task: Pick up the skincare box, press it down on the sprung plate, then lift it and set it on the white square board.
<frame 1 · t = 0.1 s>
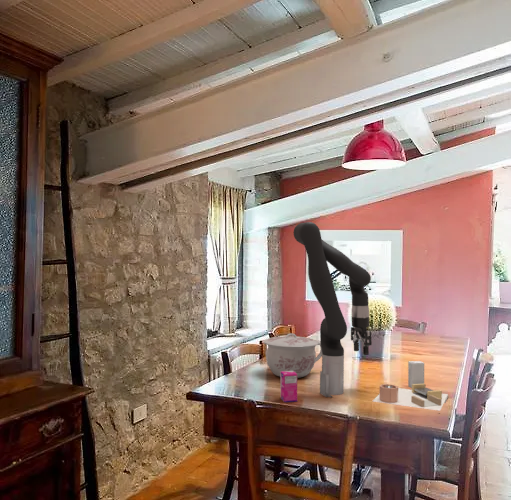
hand: (361, 352, 229), 17 cm above the table, tool pointing down, fingers open, 8 cm apart
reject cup: (388, 400, 214), resting on white square board
white square board: (411, 400, 218), on the table
chamber pot: (291, 375, 259), on the table
supplement box: (288, 400, 216), on the table
sprung plate: (426, 391, 221), point 3 cm above the table, slide at 0.1 cm
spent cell: (388, 399, 214), point 2 cm above the table, touching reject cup
skincare box: (416, 389, 237), on the table
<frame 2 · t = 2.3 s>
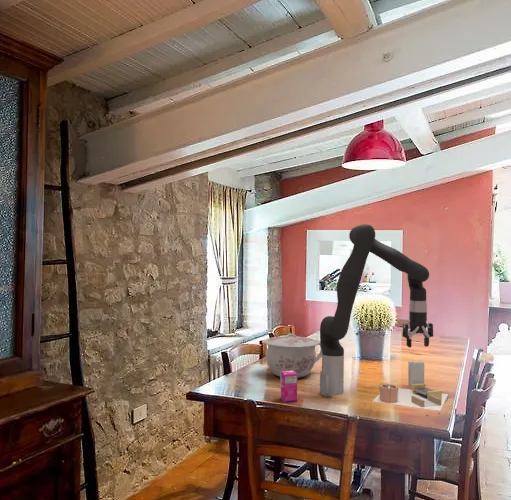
hand: (417, 346, 236), 19 cm above the table, tool pointing down, fingers open, 8 cm apart
nothing on the table moved.
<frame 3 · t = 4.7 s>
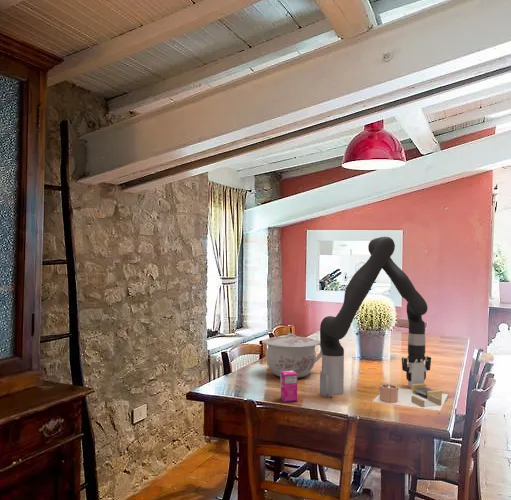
hand: (416, 380, 237), 4 cm above the table, tool pointing down, fingers closed on skincare box, 6 cm apart
skincare box: (416, 389, 237), on the table, touching gripper
everything else where it was.
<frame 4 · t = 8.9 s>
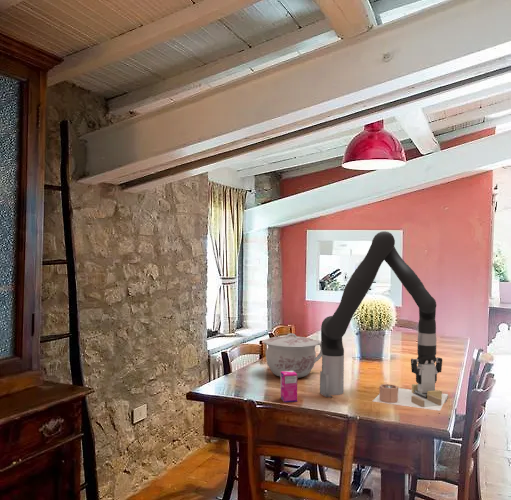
hand: (426, 383, 221), 7 cm above the table, tool pointing down, fingers closed on skincare box, 6 cm apart
sprung plate: (426, 393, 221), point 2 cm above the table, slide at 0.8 cm, touching skincare box
skincare box: (426, 392, 221), point 3 cm above the table, touching gripper, sprung plate
everything else where it was.
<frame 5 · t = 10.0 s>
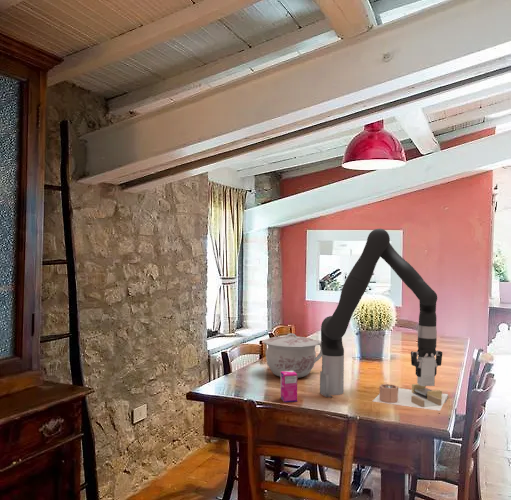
hand: (426, 376, 221), 9 cm above the table, tool pointing down, fingers closed on skincare box, 6 cm apart
sprung plate: (426, 392, 221), point 3 cm above the table, slide at 0.4 cm
skincare box: (425, 385, 221), point 5 cm above the table, touching gripper
everything else where it was.
when the fingers open (7 cm above the table, at t = 13.9 s): skincare box stays where it is, resting on white square board.
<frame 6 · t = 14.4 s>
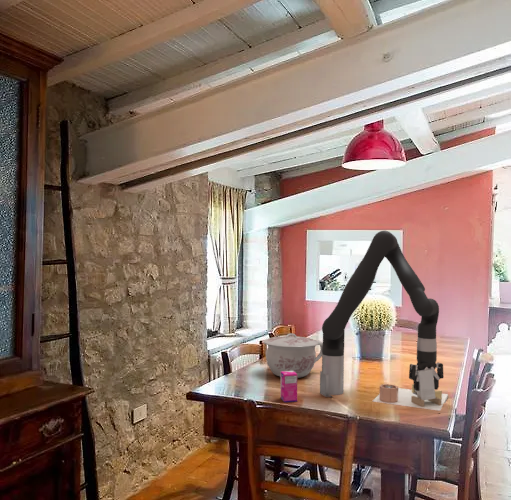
hand: (426, 389, 209), 7 cm above the table, tool pointing down, fingers open, 8 cm apart
skincare box: (426, 399, 209), point 3 cm above the table, touching white square board, gripper
everything else where it was.
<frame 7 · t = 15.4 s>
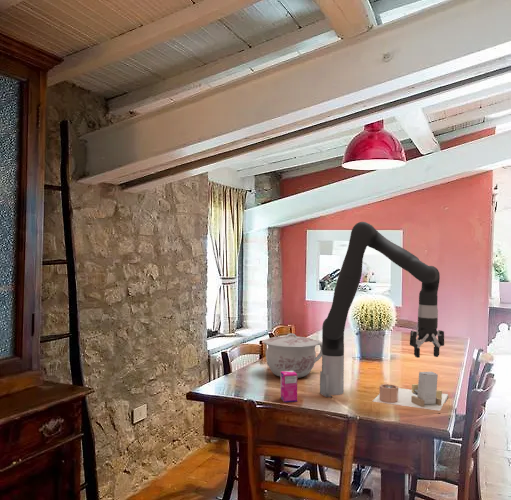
hand: (426, 356, 209), 20 cm above the table, tool pointing down, fingers open, 8 cm apart
skincare box: (426, 403, 209), point 1 cm above the table, touching white square board
everything else where it was.
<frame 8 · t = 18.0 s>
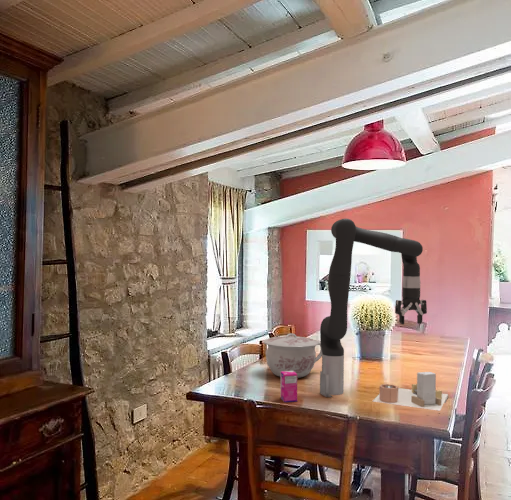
hand: (410, 324, 229), 30 cm above the table, tool pointing down, fingers open, 8 cm apart
nothing on the table moved.
at the end: skincare box 0.3 cm from the target spot on the white square board, point 1.2 cm above the white square board's base; skincare box tilted 0°; the gripper is holding nothing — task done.
